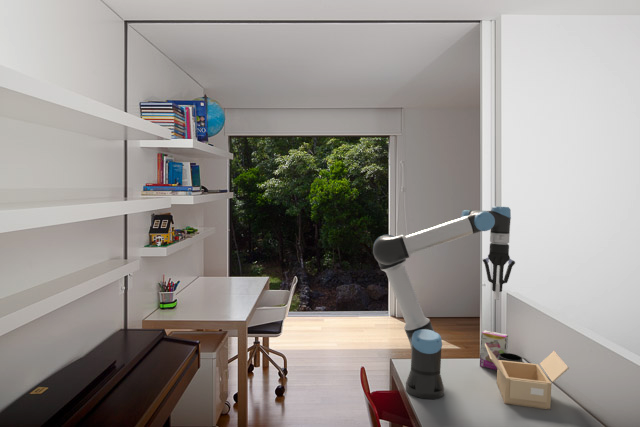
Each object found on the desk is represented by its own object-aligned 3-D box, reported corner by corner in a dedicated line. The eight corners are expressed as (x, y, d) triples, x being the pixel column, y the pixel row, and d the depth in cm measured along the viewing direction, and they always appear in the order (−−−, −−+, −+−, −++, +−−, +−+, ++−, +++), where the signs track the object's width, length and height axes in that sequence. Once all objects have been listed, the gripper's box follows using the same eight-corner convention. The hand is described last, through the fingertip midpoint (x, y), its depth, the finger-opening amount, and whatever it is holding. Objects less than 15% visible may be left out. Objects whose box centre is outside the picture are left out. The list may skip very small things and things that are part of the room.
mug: (531, 380, 196) (532, 359, 196) (507, 381, 194) (508, 361, 193) (517, 371, 205) (518, 352, 205) (493, 373, 203) (494, 353, 202)
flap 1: (504, 376, 172) (503, 376, 172) (497, 359, 191) (496, 359, 191) (491, 358, 173) (490, 359, 173) (485, 343, 192) (484, 344, 192)
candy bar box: (479, 366, 210) (481, 332, 209) (481, 363, 214) (483, 329, 213) (504, 372, 204) (506, 336, 203) (506, 369, 208) (508, 334, 207)
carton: (505, 404, 171) (506, 378, 171) (496, 382, 192) (497, 359, 192) (550, 410, 168) (552, 384, 167) (536, 387, 189) (538, 363, 188)
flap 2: (539, 363, 187) (540, 364, 187) (552, 381, 169) (553, 382, 168) (553, 350, 186) (554, 351, 186) (568, 367, 167) (569, 368, 167)
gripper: (484, 243, 186) (481, 299, 187) (517, 245, 183) (515, 302, 184) (481, 241, 193) (479, 296, 194) (514, 243, 190) (511, 298, 191)
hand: (496, 299), depth 189 cm, fingers closed
